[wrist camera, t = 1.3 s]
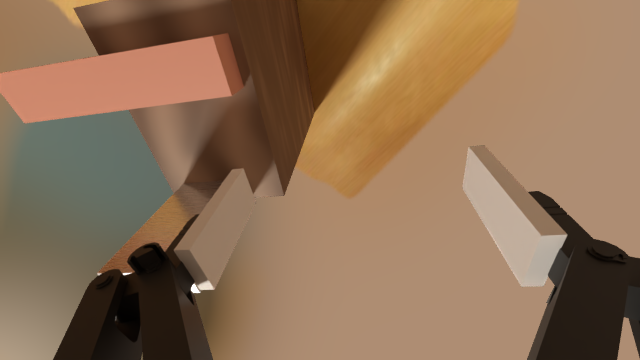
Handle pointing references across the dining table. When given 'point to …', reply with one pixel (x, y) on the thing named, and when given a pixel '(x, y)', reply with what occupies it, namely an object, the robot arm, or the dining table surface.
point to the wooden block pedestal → (225, 112)
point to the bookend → (166, 223)
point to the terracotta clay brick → (125, 80)
